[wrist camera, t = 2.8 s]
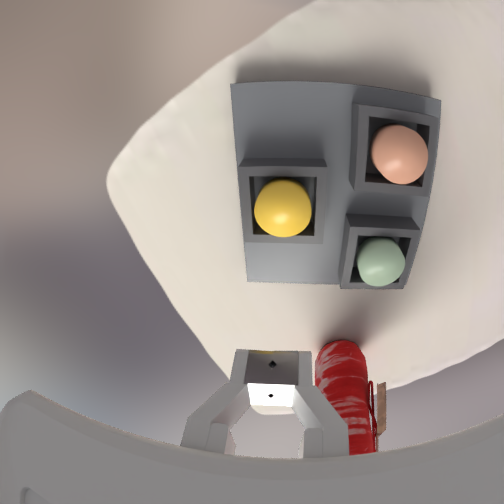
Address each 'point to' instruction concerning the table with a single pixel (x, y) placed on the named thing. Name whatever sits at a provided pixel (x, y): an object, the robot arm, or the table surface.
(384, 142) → the terracotta button
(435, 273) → the table surface
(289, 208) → the amber button
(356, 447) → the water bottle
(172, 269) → the table surface
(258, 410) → the table surface
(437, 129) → the button panel
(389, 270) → the sage button
